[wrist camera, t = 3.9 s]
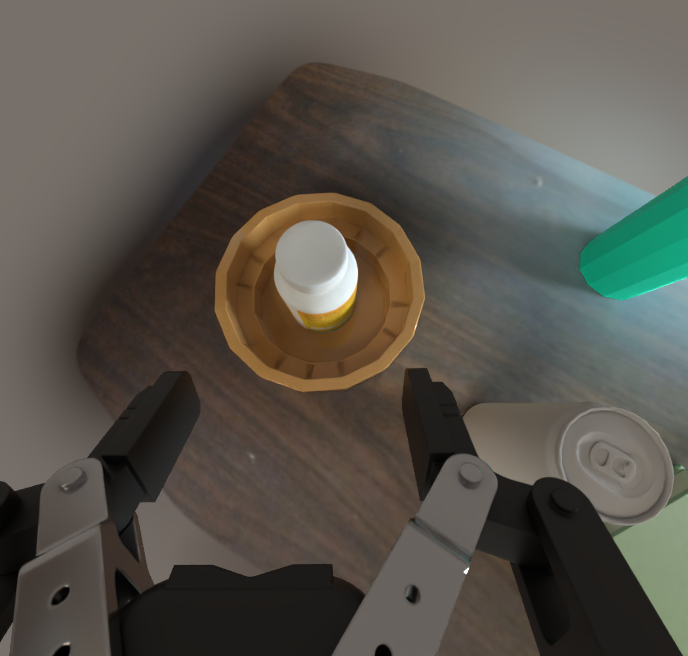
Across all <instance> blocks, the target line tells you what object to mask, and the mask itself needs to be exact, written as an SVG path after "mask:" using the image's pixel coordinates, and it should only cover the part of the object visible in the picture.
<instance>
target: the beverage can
mask: <svg viewBox="0 0 688 656" xmlns="http://www.w3.org/2000/svg"><path fill="white" fill-rule="evenodd" d="M463 420H464V423H465V425H466V428H467V430H468V433H469V435H470V437H471V440H472V442H473V445H474V447H475V450H476V452H477V454H478V456H479V458H480V459H482V460H483V461H484V462H486V463H487V464H488V465H489V466H490V467H491V469H492V470H493V471H494V472H496V473H498V474H500V475H502V476H504V477H506V478H508V479H512V480H515V481H519V482H522V483H526V484H529V485H533V484H534V483H535V482H536V481H537V480H538V479H540V478H543V477H555V478H559V479H562V480H565V481H567V482H569V483H571V484H572V485H574V486H575V487H577V488H578V489H579V490H581V491H582V492H583V493H584V494H585V495H586V496H587V497H588V499H589V500H590V501H591V503H592V504H593V506H594V508H595V509H596V511H597V513H598V514H599V516H600V518H601V519H602V521H604V522H608V523H610V524H616V525H624V526H631V525H637V524H643V523H645V522H647V521H649V520H650V519H652V518H654V517H656V516H657V515H658V514H659V513H660V512H661V511H662V510H663V509H664V508H665V506H666V504H667V502H668V500H669V498H670V496H671V494H672V488H673V482H674V474H673V465H672V461H671V458H670V455H669V452H668V449H667V447H666V445H665V444H664V442H663V441H662V439H661V438H660V436H659V434H658V433H657V432H656V431H655V430H654V429H653V428H652V427H651V426H650V425H649V424H648V423H647V422H646V421H644V420H643V419H641V418H640V417H638V416H637V415H635V414H634V413H632V412H629V411H627V410H624V409H621V408H619V407H611V406H608V405H606V404H599V403H590V402H547V403H480V404H478V405H475V406H473V407H472V408H470V409H469V410H468V411H467V412H466V414H465V415H464V417H463Z"/></svg>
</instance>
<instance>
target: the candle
mask: <svg viewBox="0 0 688 656" xmlns="http://www.w3.org/2000/svg"><path fill="white" fill-rule="evenodd" d="M580 270H581V272H582V274H583V276H584V278H585V280H586V282H587V284H588V285H589V286H590V287H592V288H593V289H594V290H596V291H597V292H598V293H600V294H601V295H602V296H604V297H609V298H614V299H619V300H625V299H628V298H632V297H635V296H638V295H641V294H644V293H646V292H649V291H652V290H655V289H657V288H660V287H663V286H666V285H668V284H671V283H674V282H677V281H679V280H682V279H685V278H688V177H686V178H684V179H683V180H682V181H680V182H679V183H677V184H675V185H674V186H672V187H671V188H669V189H668V190H666V191H665V192H663V193H662V194H660V195H659V196H657V197H656V198H654V199H653V200H651V201H650V202H648V203H647V204H645V205H644V206H642V207H641V208H639V209H638V210H636V211H635V212H633V213H632V214H630V215H629V216H627V217H626V218H624V219H623V220H621V221H619V222H618V223H616V224H615V225H613V226H612V227H610V228H609V229H607V230H606V231H604V232H603V233H601V234H600V235H598V236H597V237H595V238H594V239H592V240H591V241H590V242H589V243H588V244H587V246H586V247H585V248H584V249H583V250H582V252H581V257H580Z"/></svg>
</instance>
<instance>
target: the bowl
mask: <svg viewBox="0 0 688 656" xmlns="http://www.w3.org/2000/svg"><path fill="white" fill-rule="evenodd" d="M307 220H316V221H322V222H325V223H328V224H330V225H332V226H333V227H335V228H336V229H337V230H338V231H339V232H340V233H341V235H342V236H343V238H344V240H345V242H346V245H347V247H348V248H349V249H350V250H351V252H352V254H353V255H354V257H355V260H356V263H357V268H358V279H357V291H356V303H355V309H354V312H353V315H352V317H351V318H350V320H349V321H348V322H347V323H346V324H345V325H344V326H343V327H342V328H340V329H338V330H336V331H333V332H329V333H315V332H312V331H309V330H307V329H305V328H304V327H302V326H301V325H300V324H299V323H298V322H297V321H296V319H295V318H294V316H293V315H292V313H291V311H290V310H289V308H288V307H287V305H286V304H285V302H284V301H283V299H282V297H281V296H280V294H279V292H278V290H277V288H276V285H275V281H274V267H275V263H276V258H275V252H276V246H277V243H278V241H279V239H280V237H281V236H282V235H283V233H284V232H285V231H286V230H287V229H289V228H290V227H291V226H293V225H295V224H297V223H299V222H302V221H307ZM424 300H425V293H424V285H423V277H422V269H421V261H420V258H419V256H418V255H417V253H416V251H415V250H414V248H413V246H412V244H411V243H410V241H409V239H408V238H407V236H406V234H405V233H404V231H403V229H402V227H400V225H399V224H398V223H396V222H395V221H394V220H392V219H391V218H390V217H388V216H387V215H386V214H384V213H383V212H382V211H381V210H379V209H378V208H377V207H375V206H374V205H373V204H371V203H368V202H365V201H362V200H358V199H355V198H351V197H348V196H345V195H341V194H338V193H333V192H332V193H316V194H300V195H296V196H295V195H294V196H292V197H289V198H287V199H285V200H283V201H280V202H278V203H276V204H273V205H271V206H269V207H266V208H264V209H262V210H261V211H259V212H257V213H256V214H255V215H254V216H253V217H252V218H251V219H250V220H249V221H248V222H247V223H246V224H245V225H244V226H243V227H242V228H241V229H240V230H239V231H238V232H237V233H235V234H234V235H233V237H232V238H231V241H230V243H229V245H228V247H227V249H226V251H225V254H224V256H223V258H222V260H221V262H220V264H219V267H218V269H217V271H216V285H215V313H216V316H217V318H218V320H219V323H220V325H221V328H222V330H223V333H224V335H225V338H226V340H227V342H228V345H229V347H230V349H231V350H232V351H233V352H234V353H235V354H236V355H237V356H238V357H240V358H241V359H242V360H243V361H244V362H245V363H246V364H247V365H248V366H249V367H250V368H251V369H252V370H253V371H254V372H255V373H256V374H258V375H259V376H260V377H261V378H264V379H267V380H270V381H272V382H275V383H278V384H281V385H284V386H287V387H289V388H292V389H295V390H298V391H301V392H306V393H323V392H339V391H346V390H347V391H348V390H350V389H352V388H354V387H356V386H358V385H360V384H362V383H364V382H366V381H368V380H370V379H372V378H374V377H376V376H378V375H379V374H381V373H382V372H383V371H384V370H385V369H386V368H387V367H388V366H389V365H390V364H391V362H392V361H393V360H394V359H395V358H396V357H397V355H398V354H399V353H400V352H401V351H402V350H403V348H404V347H405V346H406V345H407V344H408V342H409V341H410V340H411V339H412V338H413V336H414V333H415V329H416V326H417V323H418V320H419V316H420V313H421V310H422V306H423V303H424Z"/></svg>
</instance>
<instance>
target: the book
mask: <svg viewBox="0 0 688 656" xmlns="http://www.w3.org/2000/svg"><path fill="white" fill-rule="evenodd" d="M673 474H674V482H673V488H672V494H671V496H670V498H669V500H668V502H667V504H666V506H665V508H664V509H663V510H662V511H661V512H660V513H659V514H658V515H657V516H656V517H654V518H652V519H650V520H649V521H647V522H645V523H643V524H637V525H631V526H624V525H616V524H610V523H608V522H604V521H603V523H604V524H605V526H606V528H607V529H608V531H609V533H610V534H611V536H612V538H613V539H614V541H615V543H616V544H617V546H618V548H619V549H620V551H621V553H622V554H623V556H624V558H625V559H626V561H627V563H628V564H629V566H630V568H631V569H632V571H633V573H634V575H635V576H636V578H637V580H638V581H639V583H640V585H641V586H642V588H643V590H644V591H645V593H646V595H647V596H648V598H649V600H650V601H651V603H652V605H653V606H654V608H655V610H656V611H657V613H658V615H659V616H660V618H661V620H662V621H663V623H664V625H665V626H666V628H667V630H668V631H669V633H670V635H671V636H672V638H673V640H674V641H675V643H676V645H677V646H678V648H679V650H680V651H681V653H682V655H683V656H688V470H685V469H684V468H683V466H682V465H675V466H673Z"/></svg>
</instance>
